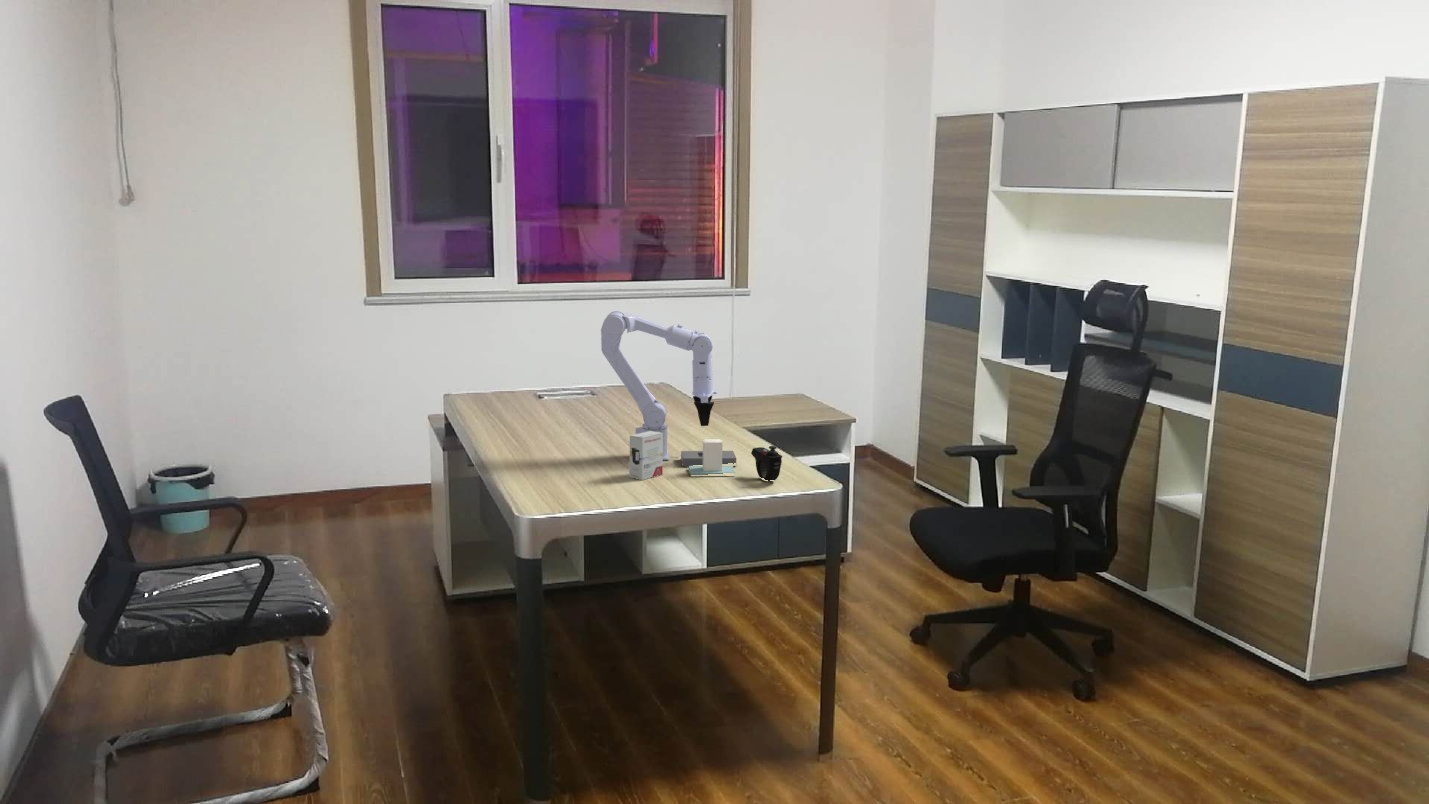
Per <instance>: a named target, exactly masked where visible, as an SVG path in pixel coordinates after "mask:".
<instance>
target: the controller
mask: <svg viewBox="0 0 1429 804" xmlns="http://www.w3.org/2000/svg"><path fill="white" fill-rule="evenodd" d="M776 449H778V447H777V446H776V445H770V446H768V448H765V447H763V446H762V447H761V446H759V447H753V448H752V449H751V452H750V454H751V456H752V457H753V458H754V460H755V469H756V473H757V475H758V478H760V477H761V478H764V479H765V480H768V481H769V482H771V481H770V480H774V481H776V480H777V479H778V478H779V475H780V472H781V466H782V463H783V462H782V461H783V460H782V458H783V455H781V454H779V452H778V451H776ZM761 478H760V479H761Z"/></svg>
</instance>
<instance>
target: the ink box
mask: <svg viewBox="0 0 1429 804" xmlns="http://www.w3.org/2000/svg"><path fill="white" fill-rule="evenodd" d="M663 461H664V460H663V433H661V432H653V431H648V432H643V433H639V434H636V433H634V434H631V435H629V478H631V479H634V478H636V479H635V480H638V479H639V481H644V479H645V480H648V479H651V477H652V478H654V476H655V477H658V476H657V475H659V476H662V475H663V472H664V471H663V467H664V466H663V464H664V462H663ZM647 478H648V479H647Z"/></svg>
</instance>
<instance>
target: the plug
mask: <svg viewBox="0 0 1429 804" xmlns="http://www.w3.org/2000/svg"><path fill="white" fill-rule="evenodd" d="M723 444H724V443H723V440H722V439H721V438H720V439H719V438H718V439H717V438H715V439H714V438H712V439H711V438H710V439H709V438H708V439H706V438H705V439H702V451H703V470H704V471H722V451H723Z"/></svg>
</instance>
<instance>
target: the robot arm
mask: <svg viewBox="0 0 1429 804" xmlns="http://www.w3.org/2000/svg"><path fill="white" fill-rule="evenodd" d="M625 331H626V333H627V334H628V333H632V332H637V331H639V332H642V333H646V334H649V335H653V336H655V337H656V336H657V337H660V338H663V339H665V341H666V343H667V345H671V346H673V347H676V348H679V349H681V350H684V351H692V357H693V359H692V361H691V364H692V398H693V400H694V402H693V404H694V407H695V408H696V410H697V414H698V415H697V416H698V419H699V424H700V426H701V427H707V426H709V424H710V418H711V413H712V410H713V407H714V405H715V402H714V401H712V399H713V395H717V394H718V391H717V390H714V383H713V382H714V380H713V379H714V376H713V375H714V373H713V372H714V370H713V359H712V357H713V355H712V350H713V348H714V347H713V341H712V339H711V338H710V336H709V335H707V334H706V333H704V332H699V330H690V329H687V328H684V327H683V325H682V324H677V325H676V324H673V325H670V326H669V327H668V326H666V325H662V324H659V323H657V322H654V321H653V320H652V321H651V320H649V319H646V318H643V317H640V316H639V315H634V314H632V313H628V312H627V313H626V312H624V313H623V312H621V311H618V310H616V311H611V312H610V313H609V314H607V316H606V317H605V318H604V320H603V322H602V326H601V329H600V336H601V338H600V341H601V342H600V344H601V345H600V346H601V348H600V349H601V353H602V355H603V356H604V358H605V359H606V360H607V362H608V363H609V364H610V366H611V367H612V369H613V371H614V372H615V373H616V374H617V376H618V378H619V379H620V380H621V383H623V385H624V387H626V390H627V391H628V393H629V394H630V396H631V397H632V398H633V400H634V401H635V403H636V404H637V406H638V409H639V411H640V412H641V414H642V419H643V422H644V423H643V424H642V426H640V427H635V434H639V433H643V432H648V431H653V432H661V433H663V461H669V460H670V456H669V452H668V425H667V424H666V423H665V422H666V417H667V409H666V406H665V405H664V404H663V403H662V402H660V401H659V400H657V399H656V398H655V396H654V395H653V394H652V393H651V392H650V390H649V389H648V387H647V386H646V385H645V383H644V382H643V380H642V379H641V377H640V376H639V375H638V373H637V371H635V368H634V367H633V366H632V364H631V363H630V361H629V360H628V358H627V356H626V355H625V354H624V352H623V351H622V349H621V348H620V345H621V340H622V336H623V334H624V332H625Z"/></svg>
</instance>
